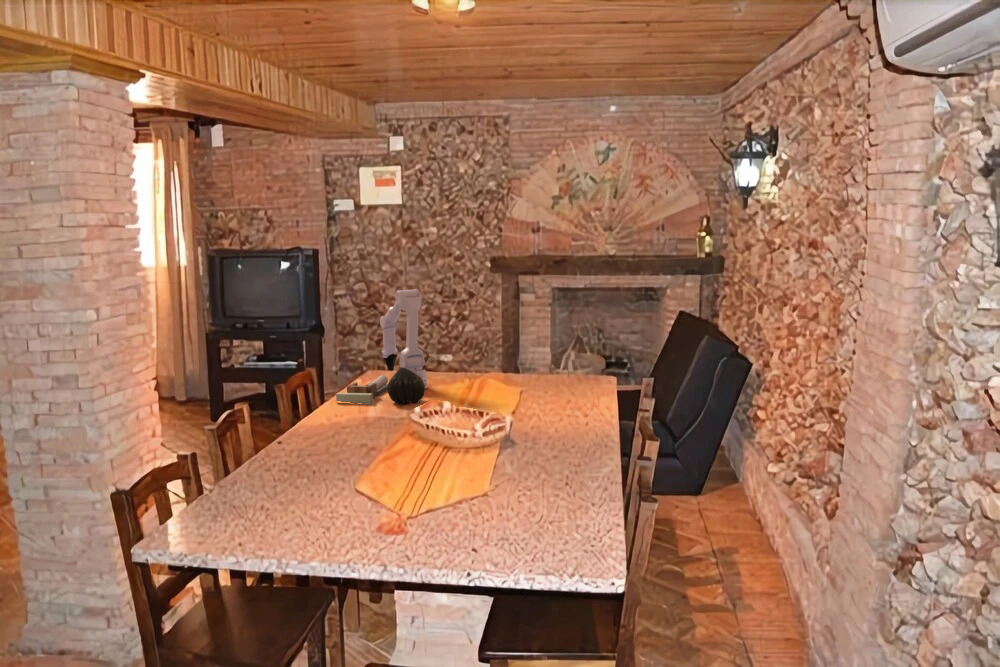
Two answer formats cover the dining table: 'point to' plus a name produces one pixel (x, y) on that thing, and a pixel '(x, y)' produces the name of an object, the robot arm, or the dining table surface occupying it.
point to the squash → (406, 387)
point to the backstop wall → (355, 397)
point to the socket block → (363, 389)
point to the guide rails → (381, 389)
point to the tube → (380, 381)
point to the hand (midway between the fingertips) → (390, 370)
